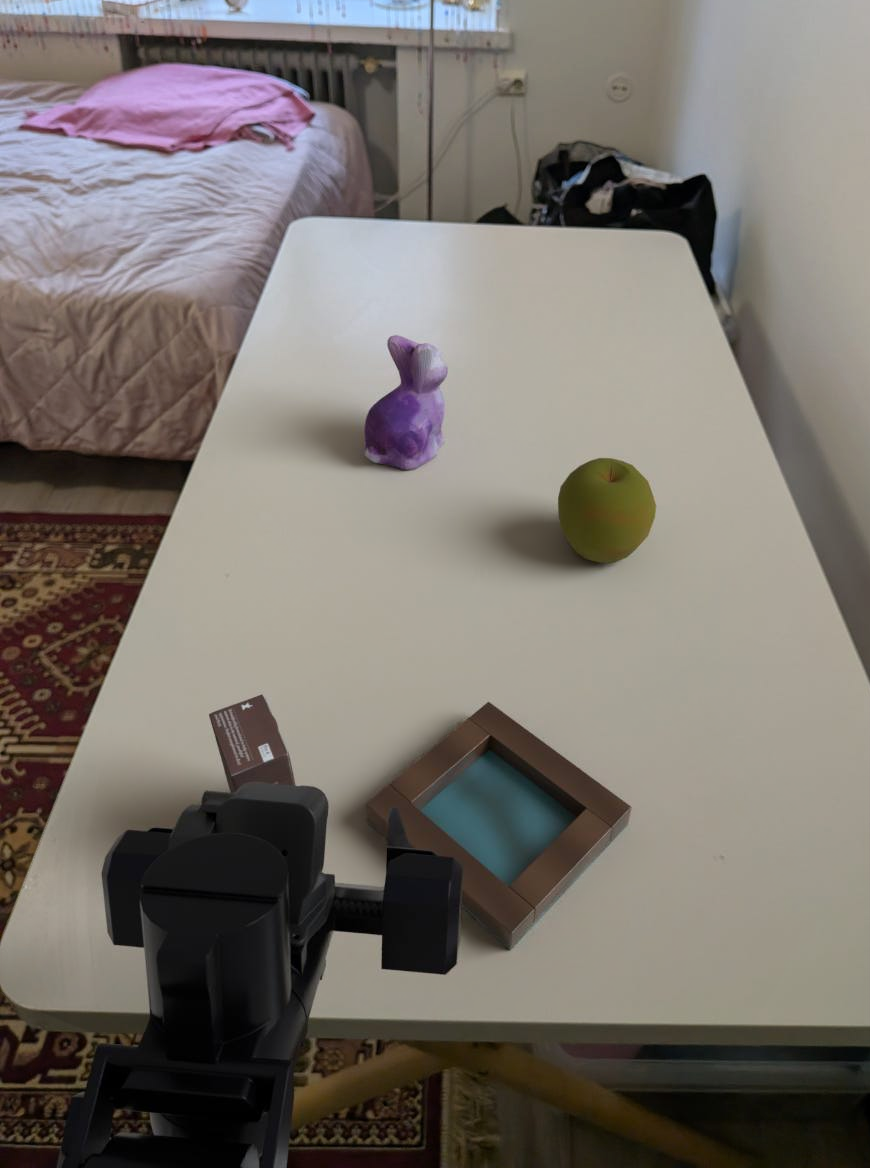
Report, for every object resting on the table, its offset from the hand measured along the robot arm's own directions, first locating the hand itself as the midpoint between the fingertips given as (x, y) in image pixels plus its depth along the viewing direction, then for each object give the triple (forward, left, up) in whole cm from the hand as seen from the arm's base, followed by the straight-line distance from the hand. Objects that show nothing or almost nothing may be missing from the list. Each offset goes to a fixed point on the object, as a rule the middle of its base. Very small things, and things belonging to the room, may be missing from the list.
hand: (320, 806), depth 59 cm
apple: (+46, -12, -15) cm, 50 cm away
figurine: (+58, +13, -15) cm, 61 cm away
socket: (+11, -9, -15) cm, 21 cm away
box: (+6, +8, -15) cm, 18 cm away
